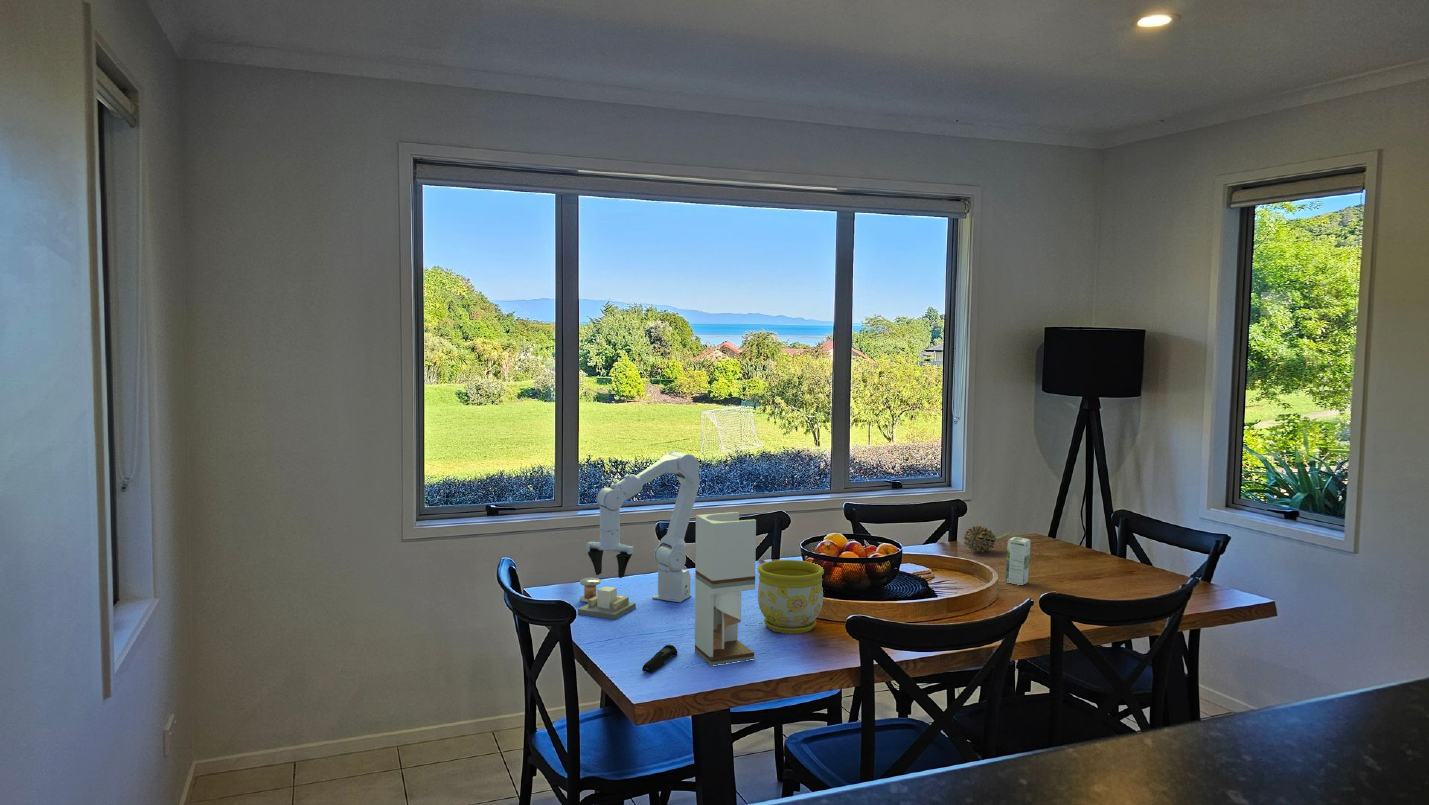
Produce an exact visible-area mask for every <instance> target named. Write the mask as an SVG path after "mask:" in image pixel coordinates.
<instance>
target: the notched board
mask: <svg viewBox="0 0 1429 805" xmlns="http://www.w3.org/2000/svg"><path fill="white" fill-rule="evenodd" d="M629 598H630V597H629V596H624V595H618V594H617V600H616V601H614V602H612V603H611V608H610V609H608V608H601V607H597V596H595V597H593V598H591V599H589V600H588V603H586V604H585V605H583V606H581V607H579V608H577V615H582V616H586V617H587V616H588V617H594V618H600V619H608V620H614V621H616V620H618V619H619V618H621V617H623V616H625V615H626V614H628V613H630V612H631V611H633V610H635V609H636V606H637V603H636V602H631V601H630V600H629Z"/></svg>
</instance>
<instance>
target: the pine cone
mask: <svg viewBox="0 0 1429 805" xmlns="http://www.w3.org/2000/svg"><path fill="white" fill-rule="evenodd" d="M1010 534H1011V533H1010V532H1005V533H1004V534H1002V535H1001V536H997V537H996V534H994V532H992V530H990V529H989V530H988V528H987V527H984V526H983V527H982V525H976V526H975V525H973V526H972V527H970V528H967V529H966V532H964V533H963V535H964V537H962V539H963V541H964V542H963V544H964V545H965V547H966V546H967V547H968V549H969V550H971V551H974V552H976V551H977V552H980V551H982V552H990V550H991V548H992V549H994V548H995V546H996V542H998V541H1003V540H1005V539H1007V538H1011V536H1010ZM985 550H986V551H985Z"/></svg>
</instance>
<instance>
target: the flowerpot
mask: <svg viewBox="0 0 1429 805" xmlns="http://www.w3.org/2000/svg"><path fill="white" fill-rule="evenodd" d="M757 572H758V573H759V576H758V579H759V581H758V586H757V587H758V589H757V602H758V607H759V610H760V612H761V614H762V616H763V617H764V619H763V623H764V624H765V625H766V626H767V628H768V629H769V630H771V631H773V632H775V633H776V632H777V633H780V632H781V633H780V634H790V635H792V634H793V635H795V634H802V633H803V634H804V633H808V632H809V631H811V630H812V629H813V628H814V627H815V626H816V625H817V620H816V619H817V617H818V616H819V615H820V612H822V611H821V610H822V609H823V608H822V607H823V604H824V603H823V602H824V592H823V587H822V580H823V579H822V575H823V574H824V569H823V567H821V566H820V565H818V564H815V563H812V561H807V560H800V559H799V560H797V559H774V560H769V561H766V562H763V563H761V564H759V565H758V566H757Z"/></svg>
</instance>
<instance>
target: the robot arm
mask: <svg viewBox="0 0 1429 805" xmlns="http://www.w3.org/2000/svg"><path fill="white" fill-rule="evenodd" d="M700 465H701V464H700V463H699V461H698V460H697V458H696V456H694V455H693V454H689V453H684V452H680V451H678V450H673V451H670V452H669V453H668V454H664V455H663V456H661V458H660V459H659V460H657V461H655V462H654V463H653V464H651V465H650V466H649V467H646V468H645V469H644V470H642V471H640V472H639V473H637V475H636V474H625V475H624V476H623V479H620V480H619V481H617V482H616V483H611V484H610V487H603V488H601V490H600V491H599V492H598V493H597V496H596V497H595V501H596V503H597V505H598V506H599V541H588V542H586V550H589V551H588V552H587V555H588V557H589V558H590V560H591V563H592V565H593V568H594V572H595V575H596V576H599V575H601V574H602V572H603V569H602V568H603V566H602V564H603V556H604V552H605V551H606V552H612V553H614V552H615V553H617V554H616V555H615V558H616V562H617V567H618V572H617V575H618V579H621V578H622V579H623V578H625V574H626V569H627V565H628V564H629V561H630V559H631V557H632V555H633V554H634V546H632V545H627V544H623V543H620V540H621V536H620V534H621V532H620V530H621V528H620V524H621V523H620V521H621V520H620V517H621V516H620V509H621V507H622V506H623V504H624V502H625V501H627V500H629V499H630V498H631V497H633V496H635V495H637V494H638V493H640V492H642V489H643V487H644V485H645V484H647V483H649V482H651V481H653V480H655V479H656V478H658V477H660V476H662V475H664V474H673V475H674V476H675V477H676V479H677V480H678V482H679V483H680V487H679V490H678V494H677V497H676V499H675V500H676V501H675V504H674V507H673V511H672V514H671V518H670V521H669V525H668V527H667V528H668V529H667V532H666V534H665V535H664V536H663V537H662V538H661V539H660V541H659V544H658V545H657V547H655V550H654V551H653V557H654V560H655V561H656V562H657V594H655V595H653V596H652V599H653V600H661V601H668V602H676V603H681V602H683V601H685V600H687V599H688V598H690V597H691V596H692V594H691V574H690V573H691V572H690V571H688V570H686V569H684V568H683V567H684V566H685V565H686V562H687V556H686V552H687V549H688V548H687V545H686V541H685V537H686V533H687V530H688V525H689V523H690V519H691V516H692V512H693V508H694V507H695V506H694V505H695V502H696V498H697V495H698V491H699V488H700V483H701V480H700V475H699V474H700V472H699V469H700Z"/></svg>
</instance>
